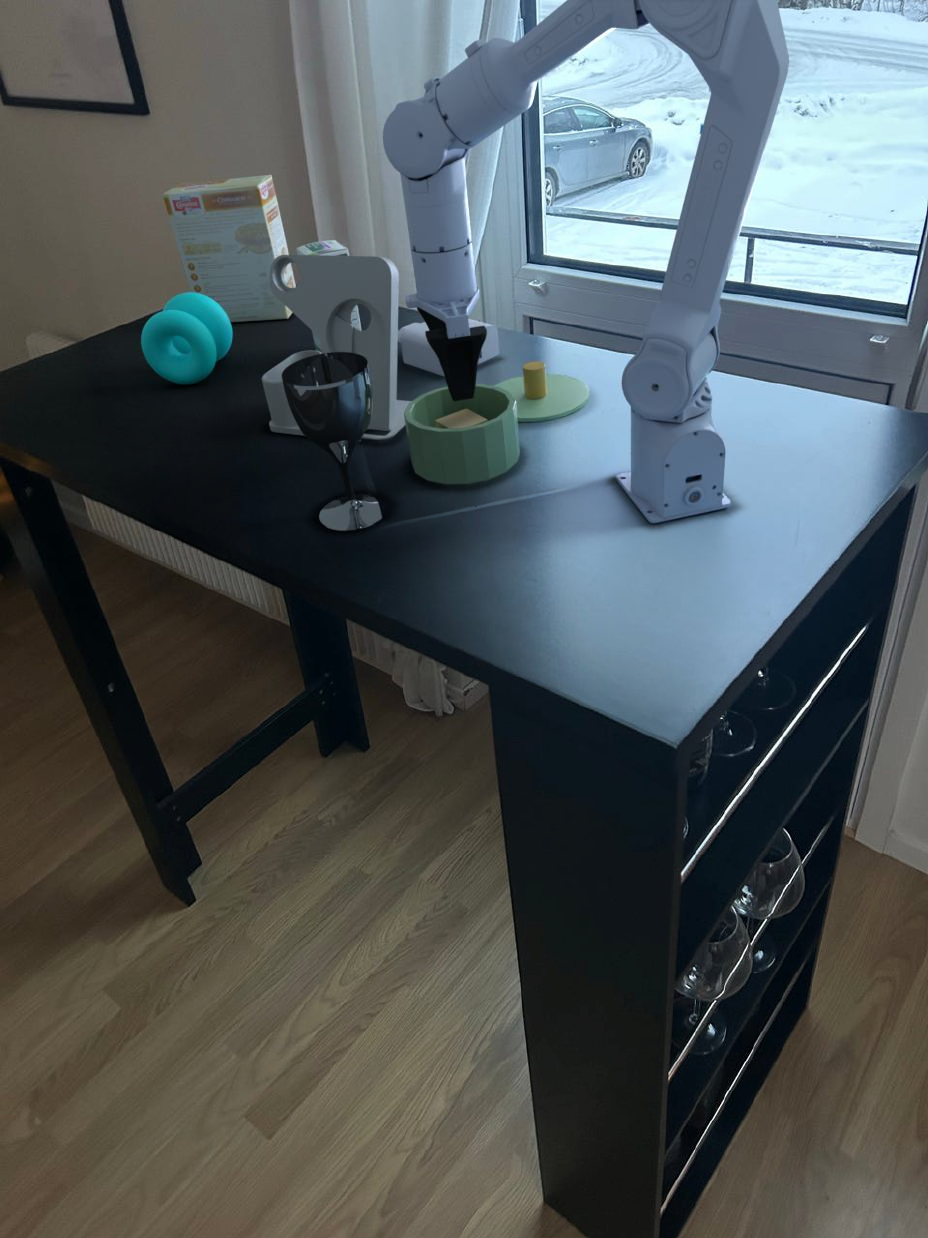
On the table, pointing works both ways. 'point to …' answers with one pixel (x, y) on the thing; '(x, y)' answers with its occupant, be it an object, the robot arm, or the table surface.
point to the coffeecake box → (231, 243)
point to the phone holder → (342, 328)
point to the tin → (463, 436)
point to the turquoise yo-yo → (187, 338)
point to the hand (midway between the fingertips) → (457, 383)
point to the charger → (424, 356)
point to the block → (460, 420)
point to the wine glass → (335, 424)
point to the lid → (545, 393)
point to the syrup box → (332, 250)
